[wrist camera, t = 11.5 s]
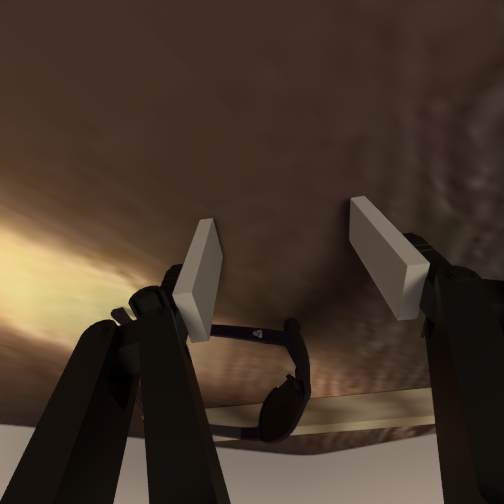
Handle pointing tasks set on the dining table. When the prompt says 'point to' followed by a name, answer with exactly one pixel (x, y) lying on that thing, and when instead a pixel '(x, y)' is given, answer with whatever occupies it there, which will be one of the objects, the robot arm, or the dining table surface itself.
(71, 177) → the dining table surface
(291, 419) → the sunglasses
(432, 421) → the beige long bar
